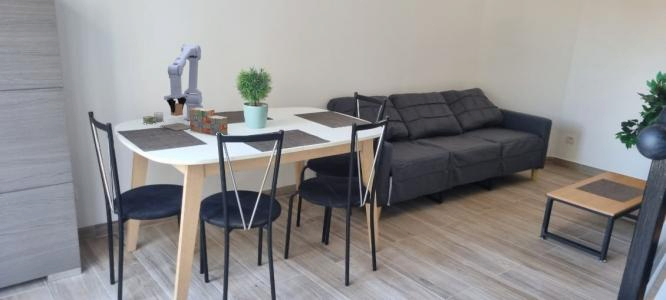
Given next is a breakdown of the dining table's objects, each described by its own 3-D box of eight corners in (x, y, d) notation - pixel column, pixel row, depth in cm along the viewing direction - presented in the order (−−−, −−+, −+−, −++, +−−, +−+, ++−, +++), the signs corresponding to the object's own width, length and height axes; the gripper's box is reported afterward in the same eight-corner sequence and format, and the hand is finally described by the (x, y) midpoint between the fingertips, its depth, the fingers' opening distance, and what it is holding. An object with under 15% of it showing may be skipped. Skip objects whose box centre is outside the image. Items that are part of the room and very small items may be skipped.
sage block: (151, 122, 278) (151, 115, 277) (156, 123, 275) (155, 116, 274) (143, 123, 274) (142, 116, 273) (147, 124, 271) (147, 117, 270)
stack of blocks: (228, 134, 255) (227, 111, 252) (219, 136, 250) (219, 113, 246) (198, 129, 265) (197, 107, 262) (189, 131, 260) (189, 108, 257)
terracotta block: (177, 113, 269) (177, 103, 267) (182, 114, 266) (182, 104, 265) (170, 114, 265) (170, 104, 264) (176, 115, 263) (175, 105, 261)
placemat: (179, 123, 276) (179, 122, 276) (195, 128, 267) (195, 127, 267) (160, 126, 267) (160, 125, 267) (176, 131, 258) (176, 130, 258)
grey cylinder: (160, 120, 284) (160, 112, 283) (165, 121, 281) (164, 113, 280) (152, 121, 280) (152, 112, 279) (157, 122, 277) (156, 114, 276)
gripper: (182, 85, 270) (183, 109, 273) (159, 87, 258) (161, 112, 262) (190, 86, 266) (191, 111, 269) (168, 88, 254) (169, 114, 258)
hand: (177, 111), depth 265 cm, fingers closed on terracotta block, 4 cm apart
